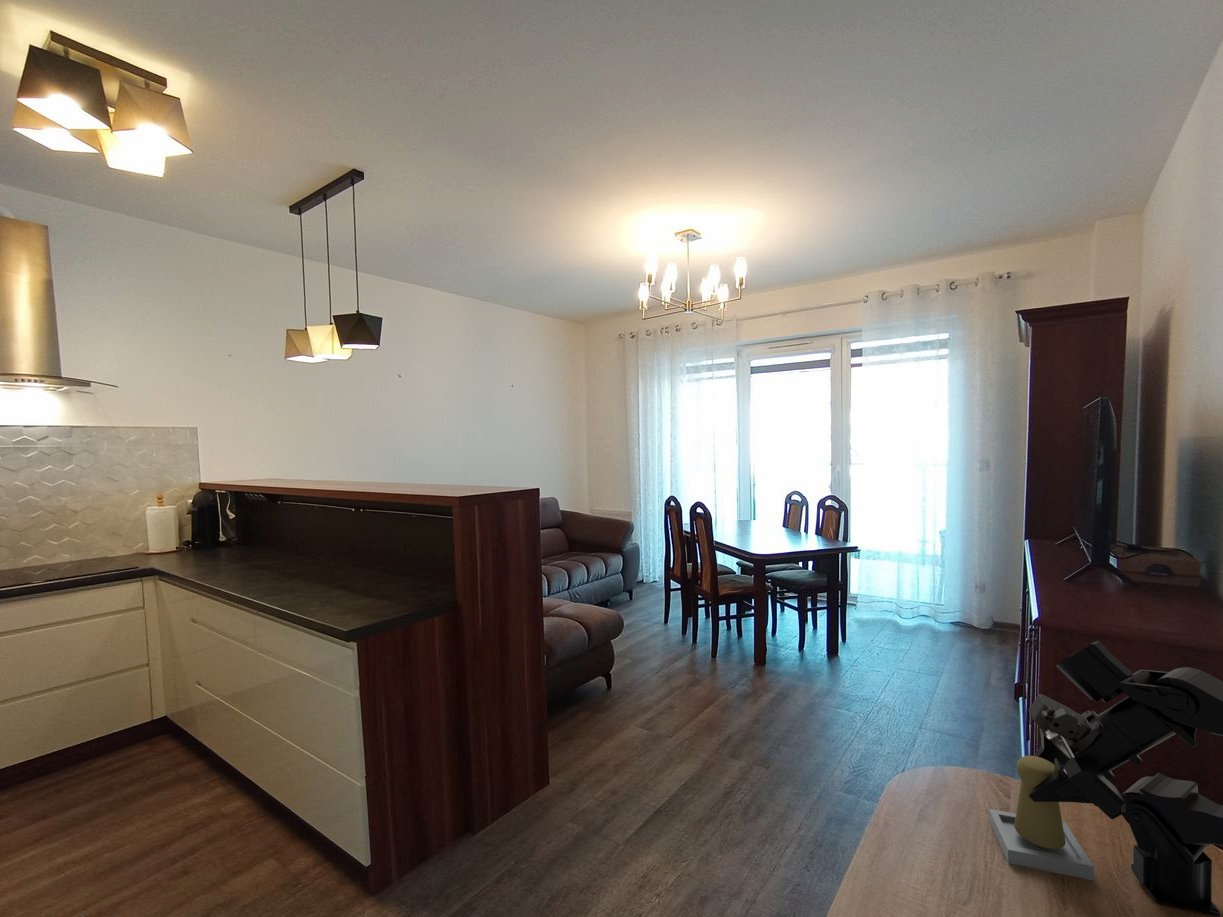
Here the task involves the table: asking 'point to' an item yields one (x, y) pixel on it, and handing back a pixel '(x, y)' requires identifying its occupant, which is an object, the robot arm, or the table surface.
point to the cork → (1037, 806)
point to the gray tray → (1040, 849)
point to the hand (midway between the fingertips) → (1026, 787)
